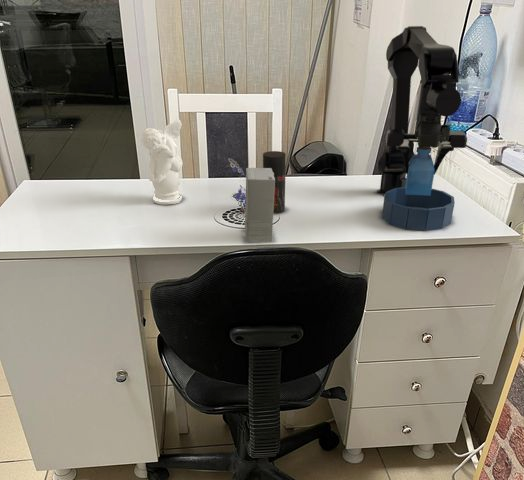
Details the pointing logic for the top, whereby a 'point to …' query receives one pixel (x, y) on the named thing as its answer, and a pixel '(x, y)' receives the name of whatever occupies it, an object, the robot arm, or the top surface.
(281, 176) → the deodorant
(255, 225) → the cosmetic box
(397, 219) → the blue round bin
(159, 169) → the cherub figurine
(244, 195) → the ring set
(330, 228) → the top surface
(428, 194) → the perfume bottle
